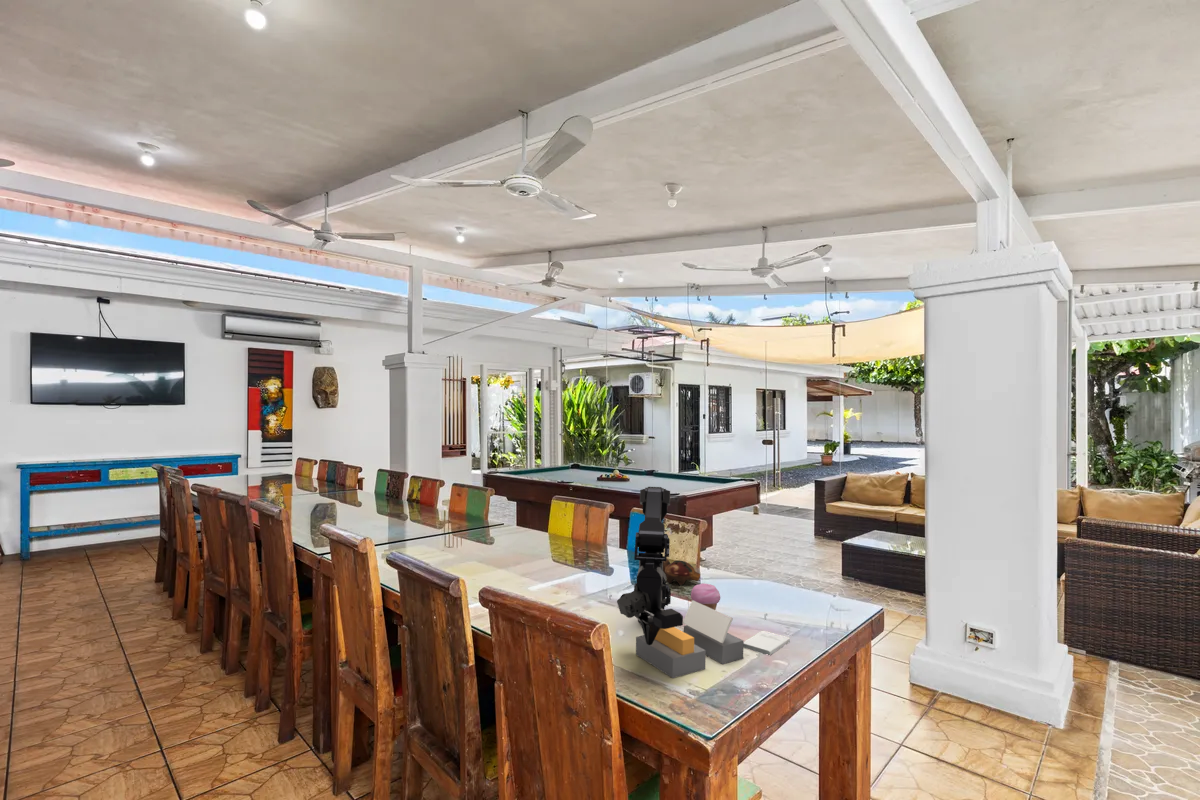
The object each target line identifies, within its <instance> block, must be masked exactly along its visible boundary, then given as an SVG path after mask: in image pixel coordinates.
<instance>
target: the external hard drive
mask: <svg viewBox="0 0 1200 800" xmlns="http://www.w3.org/2000/svg"><path fill="white" fill-rule="evenodd" d="M790 640H791V638H790V637H788V636H784V635H780V634H777V633H773V632H769V631H767V630H761V631H759V632H757V633H756V634H754V635H753V636H751V637H749V638H748V639H746V640H743V641H744V644H743V649H746V650H749V651H754V652H757V653H760V654H763V655H766V654H768V655H767V656H769V655H770V656H772V655H773V654H775V653H776V652H777V651H778V649H779V650H780V649H781V647H782V648H783V647H784V646H785V644H786V645H787V644H788V642H789V643H790V642H791V641H790ZM774 652H775V653H774ZM771 654H772V655H771Z"/></svg>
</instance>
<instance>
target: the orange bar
mask: <svg viewBox="0 0 1200 800" xmlns="http://www.w3.org/2000/svg"><path fill="white" fill-rule="evenodd" d="M655 640H657V641H659V642H661V643H662V644H664V645H666V646H667V647H669V648H671V649H673V650H674V651H676V652H678V653H680V654H681V655H685V654H689V653H693V652H694V637H692V636H690V635H688V634H686V633H684V630H680V629H679V628H677V627H672V628H668V629H661V628H660V630H659V632H658V634H657V636H656V637H655Z"/></svg>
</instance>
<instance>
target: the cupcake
mask: <svg viewBox="0 0 1200 800" xmlns="http://www.w3.org/2000/svg"><path fill="white" fill-rule="evenodd" d="M690 598H691V601H692V600H694V601H696V602H698V603H700V604H702V605H705V606H707V607H709V608H711V609H714V610H716V611H717V606H718V603H720V600H721V595H720V591H719V590H718V589H717V587H716V586H715V585H713V584H709V583H705V582H704V583H699V584H696V585H694V586H693V587H692V589H691V594H690Z"/></svg>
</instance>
